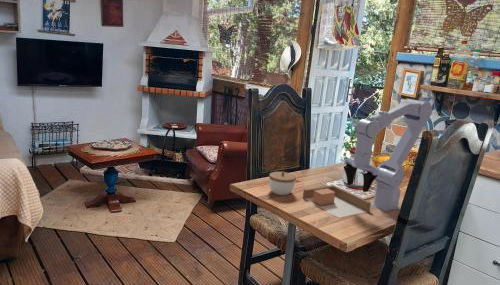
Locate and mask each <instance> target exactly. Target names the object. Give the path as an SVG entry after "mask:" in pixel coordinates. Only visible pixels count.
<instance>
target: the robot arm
mask: <svg viewBox="0 0 500 285" xmlns="http://www.w3.org/2000/svg"><path fill="white" fill-rule="evenodd" d="M432 114H433V107H432V103H431V102H430V101H428V100H427V101H423V100H418V99H412V98H409V97H408V98H406V99H404V100H401V102H400V104H397V105H396V106H395V107H393V108H392V109H390V110H389V111H385V110H379V111H378V113H376V114H374V115H373V116H372V115H370V116H369V117H368V118H367V119H366V118H362V119H360V120H358V121H357V123H356V124H355V125H354V132H355V138H356V144H355V150H354V156H353V159H350V158H344V164H343V165H344V166H343V170H344V172H345V175H346V183H347V185H348V186H351V185H353V184H354V181H355V175H356V172H357V170H358V169H359V170H361V171H363V173H362V177H363V183H362V184H363V185H362V192H364V193H367V192H369V189H370V188H371V187H372V184H373V182H375V184H376V185H375V186H376V187H375V192H374V198H373V201H372V202H371V205H370V206H373V207H375V208H377V209H379V210H381V211H383V212H385V211H387V212H388V211H392V210H399V209H400V206H399V202H400V197H401V189H400V186H401V185H402V183H403V179H404V176H405V175H406V172H405V170H404V168H403V165H404V163H405V162H406V160H407V157H408V156H409V154H410V153H411V151H412V149H413V147H414V145H416V142H417V141H418V138H419V137H420V135H421V133H422V132H423V130H424V127H425V125H427V123H428V121H429V119H430V117H431V115H432ZM402 117H403V118H404V121H405V122H406V123H407V126H406V128H405V130H404V132H403V134H402V135H401V137H400V139H399V141H398V142H397V143H396V145H395V147H394V150H393V151H392V153H391V155H390V156H389V158H388V159H386V160H384V161H382V162H380V164H379V165H378V166H377V167H374V166H372V165H371V157H372V151H373V146H374V138H375V137H376V136H378V134H379V132H380V131H381V130H383V129H385V128H387V127H388V126H390V125H391V124H392V123H393V121H394V120H396V119H399V118H402Z"/></svg>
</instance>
